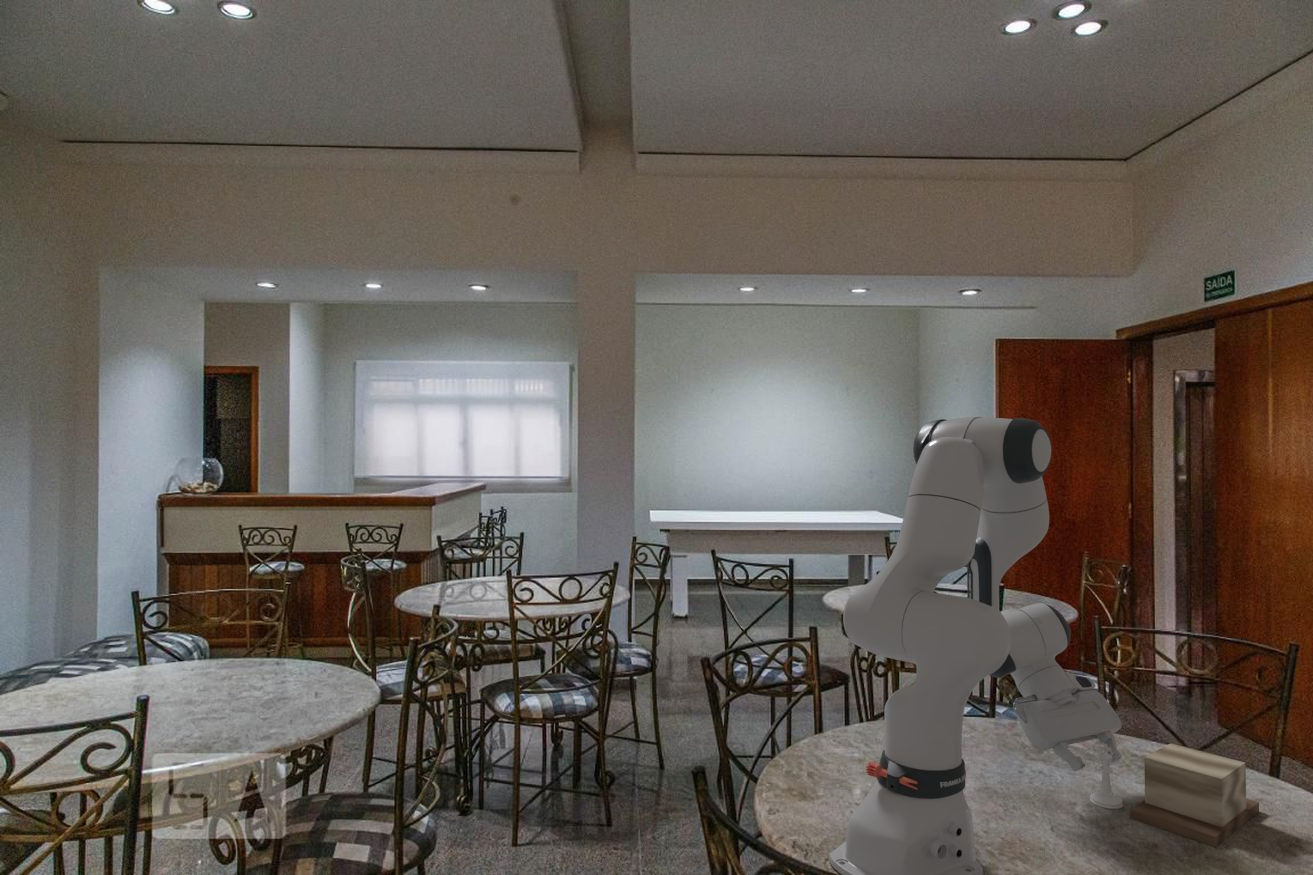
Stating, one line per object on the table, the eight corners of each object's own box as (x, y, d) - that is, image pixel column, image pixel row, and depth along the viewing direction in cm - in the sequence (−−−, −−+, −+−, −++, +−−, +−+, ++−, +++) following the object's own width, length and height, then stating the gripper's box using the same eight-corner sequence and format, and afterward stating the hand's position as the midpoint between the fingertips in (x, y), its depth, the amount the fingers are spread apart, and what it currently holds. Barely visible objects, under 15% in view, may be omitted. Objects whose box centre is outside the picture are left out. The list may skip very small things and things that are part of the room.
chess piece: (1127, 810, 132) (1126, 750, 132) (1095, 807, 133) (1094, 747, 133) (1116, 797, 137) (1115, 739, 137) (1085, 795, 138) (1085, 737, 138)
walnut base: (1215, 846, 120) (1214, 787, 120) (1130, 817, 129) (1129, 762, 129) (1259, 811, 132) (1258, 757, 132) (1178, 786, 141) (1177, 736, 141)
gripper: (1018, 690, 139) (1068, 765, 130) (1097, 677, 148) (1149, 747, 138) (998, 708, 143) (1045, 782, 134) (1076, 694, 152) (1125, 763, 142)
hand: (1098, 764), depth 136 cm, fingers open, 8 cm apart
